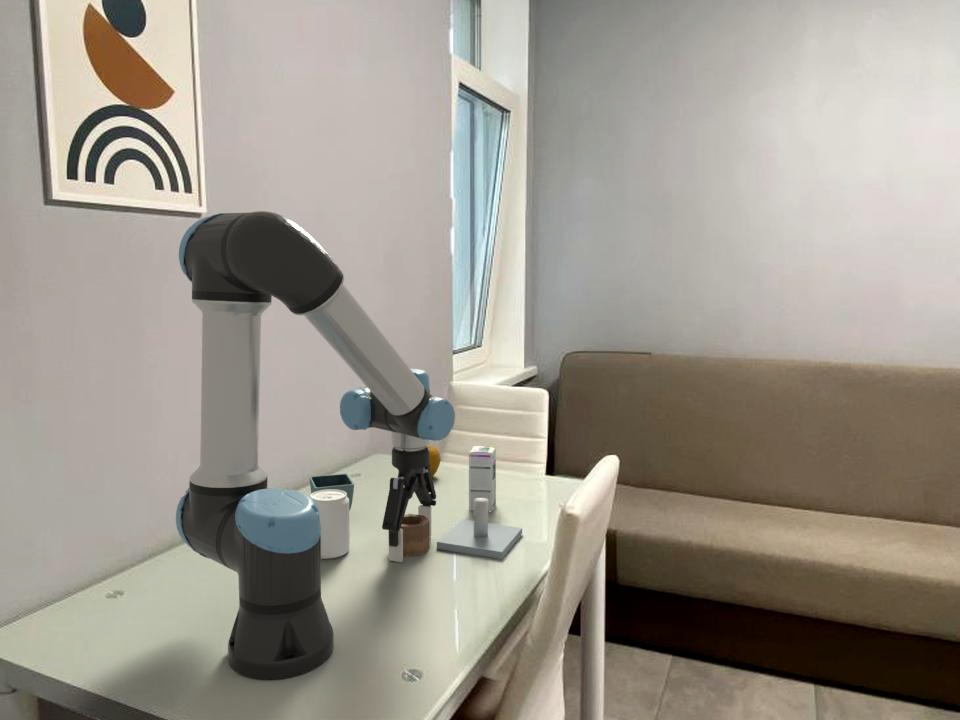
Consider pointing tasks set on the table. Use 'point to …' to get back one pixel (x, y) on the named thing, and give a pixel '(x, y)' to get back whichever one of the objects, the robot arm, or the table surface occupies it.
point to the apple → (433, 459)
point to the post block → (480, 535)
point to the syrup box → (482, 475)
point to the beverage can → (333, 522)
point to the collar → (415, 534)
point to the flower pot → (333, 484)
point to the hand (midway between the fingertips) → (411, 547)
